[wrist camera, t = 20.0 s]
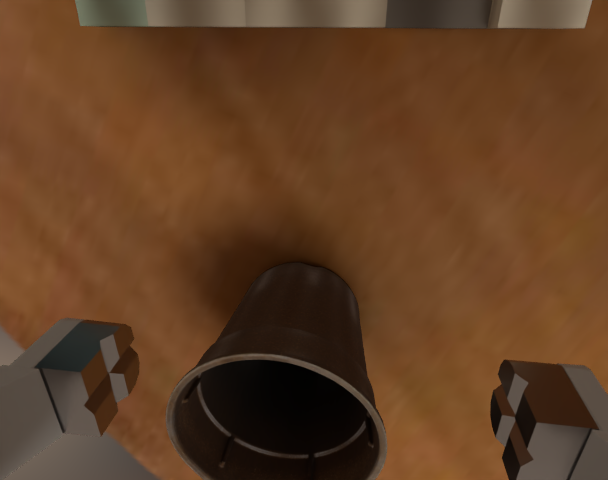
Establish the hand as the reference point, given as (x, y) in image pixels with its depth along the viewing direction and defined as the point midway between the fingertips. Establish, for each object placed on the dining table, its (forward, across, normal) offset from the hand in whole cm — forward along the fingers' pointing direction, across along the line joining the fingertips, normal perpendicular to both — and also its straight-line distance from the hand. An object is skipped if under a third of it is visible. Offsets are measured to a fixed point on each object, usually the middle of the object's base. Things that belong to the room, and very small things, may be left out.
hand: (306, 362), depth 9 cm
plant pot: (+29, +4, +20) cm, 36 cm away
